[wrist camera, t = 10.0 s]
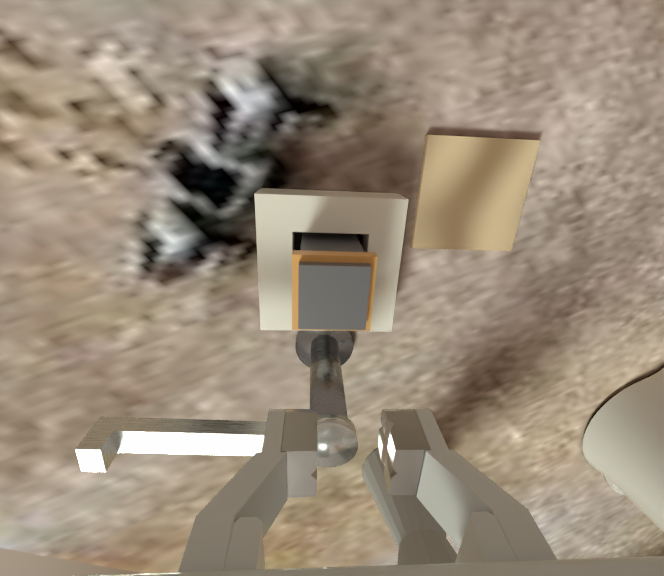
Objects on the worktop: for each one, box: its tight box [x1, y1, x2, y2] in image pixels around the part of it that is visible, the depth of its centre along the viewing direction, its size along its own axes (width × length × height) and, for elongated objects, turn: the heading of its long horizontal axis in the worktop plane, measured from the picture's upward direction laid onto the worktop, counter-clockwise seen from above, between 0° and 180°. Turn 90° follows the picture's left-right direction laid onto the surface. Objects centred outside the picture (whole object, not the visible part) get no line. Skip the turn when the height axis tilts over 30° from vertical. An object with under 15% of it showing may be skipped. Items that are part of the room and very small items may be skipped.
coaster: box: [411, 135, 541, 251], centre depth 25 cm, size 8×8×1 cm
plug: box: [292, 232, 378, 331], centre depth 23 cm, size 5×5×8 cm
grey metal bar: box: [75, 414, 358, 472], centre depth 19 cm, size 15×3×2 cm, turn 84°
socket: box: [254, 188, 409, 331], centre depth 25 cm, size 10×10×3 cm
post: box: [296, 330, 353, 418], centre depth 25 cm, size 5×5×10 cm
